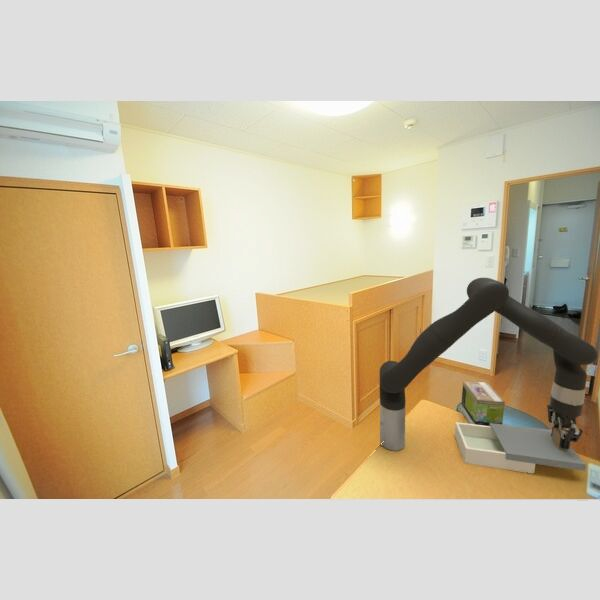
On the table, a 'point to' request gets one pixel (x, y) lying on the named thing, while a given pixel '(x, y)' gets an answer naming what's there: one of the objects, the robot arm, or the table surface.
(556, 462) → the lid
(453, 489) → the table surface
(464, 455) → the box
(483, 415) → the tea box
